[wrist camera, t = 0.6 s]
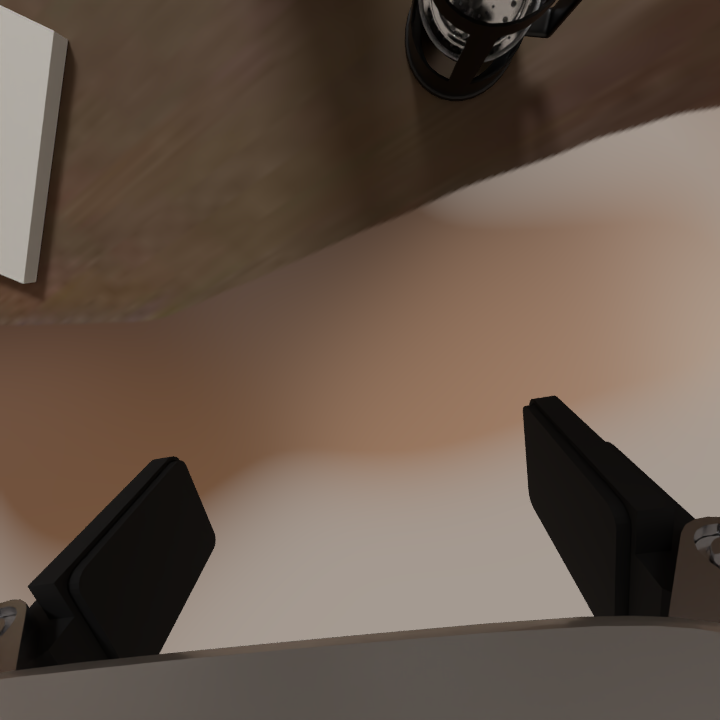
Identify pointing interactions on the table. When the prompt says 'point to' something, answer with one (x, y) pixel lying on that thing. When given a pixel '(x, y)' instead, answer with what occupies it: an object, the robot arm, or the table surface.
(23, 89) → the white base with posts
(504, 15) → the french press
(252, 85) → the table surface
